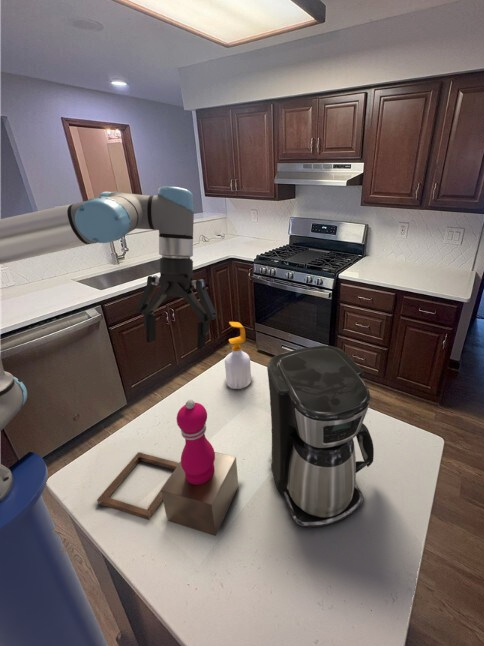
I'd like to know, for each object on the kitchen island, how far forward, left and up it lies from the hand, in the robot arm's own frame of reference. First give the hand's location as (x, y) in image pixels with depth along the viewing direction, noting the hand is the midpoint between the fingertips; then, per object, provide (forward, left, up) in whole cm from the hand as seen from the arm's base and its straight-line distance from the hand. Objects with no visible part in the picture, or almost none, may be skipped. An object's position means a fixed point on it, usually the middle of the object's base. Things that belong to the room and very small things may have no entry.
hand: (175, 344), depth 77 cm
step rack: (+3, -14, -33) cm, 36 cm away
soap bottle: (+1, +31, -33) cm, 45 cm away
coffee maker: (+36, +3, -33) cm, 49 cm away
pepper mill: (+12, -14, -23) cm, 30 cm away
